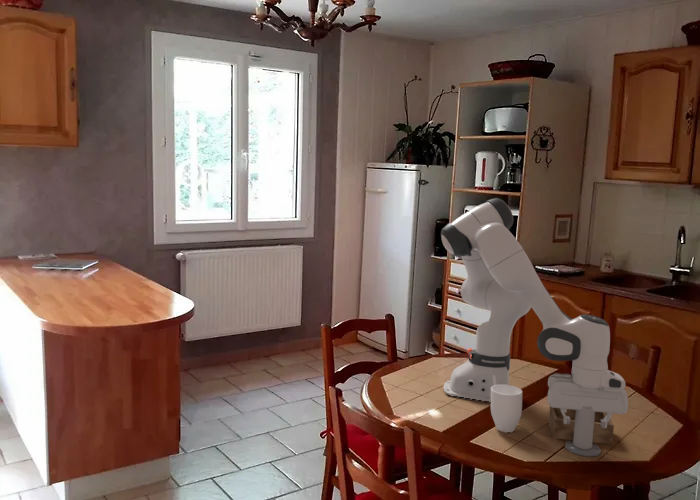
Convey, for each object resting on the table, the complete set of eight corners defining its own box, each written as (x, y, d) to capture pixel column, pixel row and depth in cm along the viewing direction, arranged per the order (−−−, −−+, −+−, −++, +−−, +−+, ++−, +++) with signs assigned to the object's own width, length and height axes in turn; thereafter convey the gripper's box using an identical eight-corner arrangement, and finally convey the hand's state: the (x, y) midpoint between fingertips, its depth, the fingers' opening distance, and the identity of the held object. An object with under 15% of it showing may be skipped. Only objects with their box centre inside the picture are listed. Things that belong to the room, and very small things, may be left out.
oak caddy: (553, 438, 176) (555, 419, 176) (548, 423, 187) (549, 405, 186) (612, 444, 174) (613, 425, 173) (603, 428, 184) (605, 410, 183)
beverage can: (593, 451, 167) (596, 408, 166) (574, 449, 168) (577, 406, 167) (590, 444, 172) (594, 402, 170) (571, 442, 173) (575, 400, 171)
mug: (520, 437, 176) (522, 396, 175) (488, 433, 179) (489, 392, 177) (521, 421, 187) (523, 382, 186) (491, 418, 190) (492, 379, 188)
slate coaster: (568, 454, 166) (568, 452, 166) (562, 440, 175) (562, 438, 175) (603, 458, 165) (604, 456, 165) (596, 443, 174) (596, 441, 173)
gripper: (550, 376, 166) (546, 426, 168) (632, 383, 163) (627, 434, 164) (547, 368, 172) (543, 417, 174) (625, 375, 169) (621, 424, 170)
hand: (584, 425), depth 169 cm, fingers open, 8 cm apart
